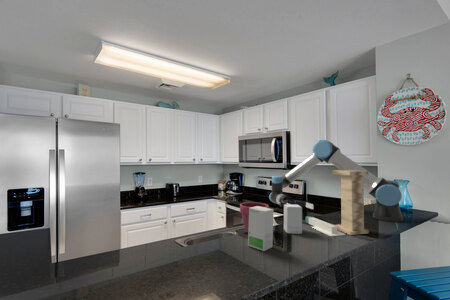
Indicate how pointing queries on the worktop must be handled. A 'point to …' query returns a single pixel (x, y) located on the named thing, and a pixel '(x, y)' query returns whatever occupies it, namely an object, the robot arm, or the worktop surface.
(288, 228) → the supplement box
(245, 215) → the plant pot
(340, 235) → the notepad
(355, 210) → the stand
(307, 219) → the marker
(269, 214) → the skincare box
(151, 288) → the worktop surface
